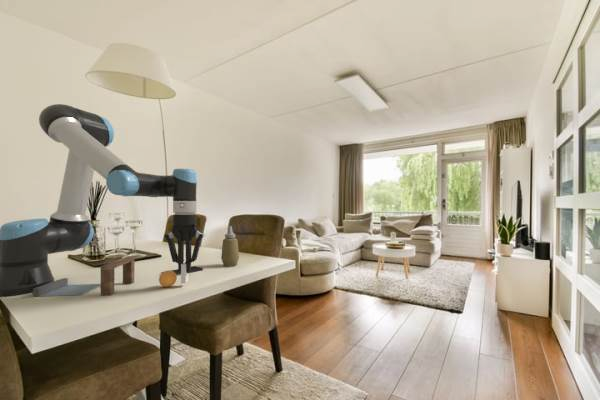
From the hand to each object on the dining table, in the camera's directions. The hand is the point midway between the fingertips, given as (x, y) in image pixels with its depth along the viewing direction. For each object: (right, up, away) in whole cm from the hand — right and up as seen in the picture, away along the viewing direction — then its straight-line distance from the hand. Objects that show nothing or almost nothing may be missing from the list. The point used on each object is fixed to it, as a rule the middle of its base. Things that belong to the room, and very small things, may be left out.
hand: (184, 282), depth 96 cm
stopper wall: (-43, -2, -4) cm, 43 cm away
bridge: (-21, -2, -2) cm, 22 cm away
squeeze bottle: (+8, -2, +32) cm, 33 cm away
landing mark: (-35, -2, -3) cm, 36 cm away
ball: (-6, +1, -1) cm, 6 cm away
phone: (-9, -2, +20) cm, 22 cm away
